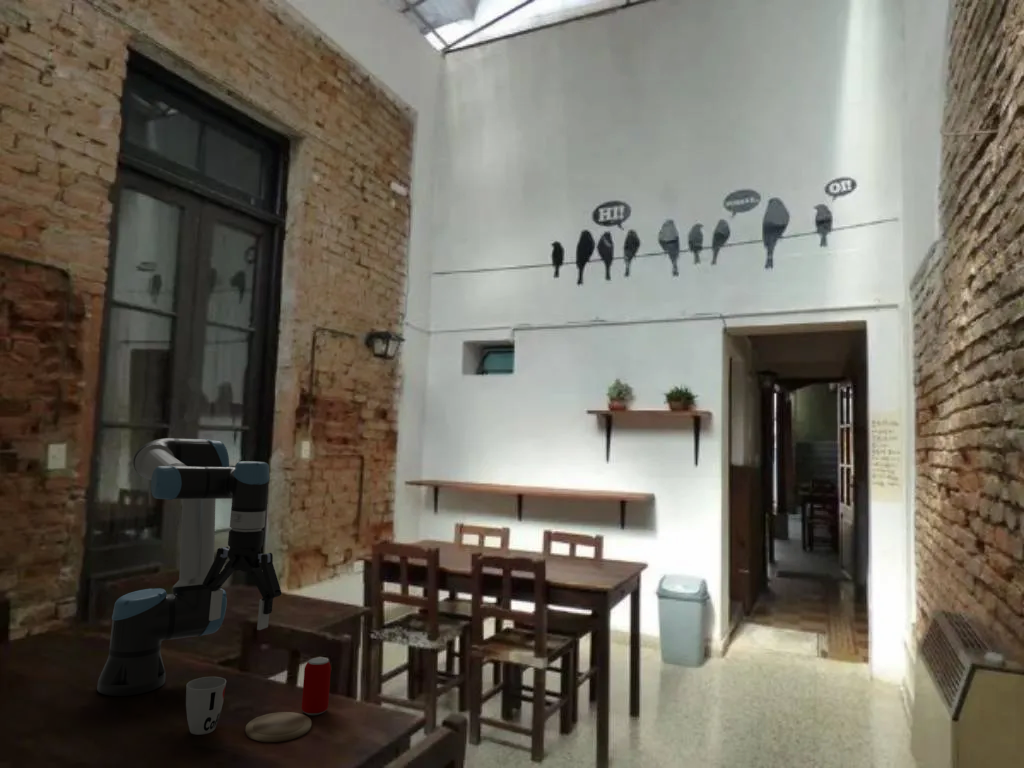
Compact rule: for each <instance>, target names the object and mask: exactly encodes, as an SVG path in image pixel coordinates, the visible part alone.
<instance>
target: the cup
mask: <svg viewBox="0 0 1024 768" xmlns="http://www.w3.org/2000/svg"><path fill="white" fill-rule="evenodd" d="M185 685H186V688H185V690H186V693H185V710H186V718H187V719H186V720H187V721H186V722H187V725H188V729H189V733H190V734H192V735H198V736H199V735H208V734H210V733H212V732H213V731H215V729H216V728H217V725H218V722H219V719H220V716H221V713H222V708H223V704H224V701H225V700H224V699H225V693H226V686H227V680H226V678H223V677H220V676H203V677H199V678H195V679H192V680H190V681H188V682H187V683H186V684H185Z"/></svg>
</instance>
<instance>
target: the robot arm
mask: <svg viewBox="0 0 1024 768" xmlns="http://www.w3.org/2000/svg"><path fill="white" fill-rule="evenodd" d="M229 456H230V455H229V451H228V449H227V447H226V445H225V444H224V443H223V442H222V441H220V440H214V439H208V438H205V439H204V438H202V439H200V438H176V437H175V438H174V437H165V438H159V439H158V438H157V439H154V440H151V441H148V442H147V443H145V444H143V445H142V446H140V448H138V450H137V451H136V452H135V454H134V456H133V462H132V463H133V468H134V471H135V472H136V474H137V475H139V476H140V477H142V478H143V479H145V480H149V481H151V482H150V490H151V495H152V497H153V499H156V500H157V499H158V500H167V501H171V500H182V501H181V502H182V504H181V528H180V529H181V530H180V551H179V552H180V554H179V579H178V581H177V582H176V583H175V584H174V585H172V593H167V591H166V590H165V589H164V588H160V587H156V588H145V589H139V590H135V591H132V592H128V593H126V594H124V595H122V596H120V597H119V598H117V599H116V601H115V603H114V606H113V611H112V615H111V620H112V622H111V630H110V631H111V632H110V639H109V641H110V642H109V648H108V650H109V651H108V657H107V659H106V662H105V664H104V666H103V668H102V671H101V673H100V675H99V677H98V681H97V687H96V688H97V689H96V691H97V692H98V693H99V694H102V695H104V696H112V697H126V696H127V697H128V696H134V695H135V696H136V695H141V694H145V693H149V692H151V691H155V690H156V689H159V688H160V687H162V686H163V685H164V684H165V682H166V668H165V666H164V662H163V658H162V657H163V656H162V654H161V648H162V642H163V641H167V640H168V641H169V640H177V639H183V638H184V639H186V638H192V637H203V636H205V635H206V636H207V635H210V634H211V635H212V634H215V633H216V632H217V631H219V629H220V628H221V626H222V624H223V622H224V619H225V617H226V610H227V605H228V604H227V603H228V598H227V592H226V590H225V589H223V585H224V584H225V582H226V581H228V579H229V578H230V577H231V576H232V575H233V573H234V571H241V572H243V573H247V574H248V575H250V576H251V578H252V579H253V582H254V583H255V586H256V587H257V589H258V591H259V593H260V595H261V599H259V601H258V602H259V603H258V613H257V615H258V616H257V626H256V630H257V631H261V630H264V629H267V628H269V621H270V620H269V619H270V614H271V613H272V611H273V602H274V599H275V598H278V597H280V596H282V589H281V586H280V583H279V580H278V576H277V573H276V570H275V566H274V564H273V561H274V560H273V559H274V556H273V553H272V552H268V553H262V551H261V550H262V549H261V548H262V546H263V545H264V536H265V531H264V530H263V529H264V528H265V526H266V525H265V524H266V514H267V511H266V510H267V501H268V491H269V482H270V478H271V477H270V465H269V464H268V463H267V462H265V461H255V460H254V461H253V460H251V461H249V460H246V461H245V460H242V461H238V462H236V464H235V465H231V466H230V457H229ZM216 499H218V500H219V499H220V500H221V499H222V500H223V499H228V500H229V499H231V509H230V519H229V528H231V529H230V530H229V531H228V538H227V546H222V547H219V548H217V549H216V554H215V538H216V537H215V534H216V531H215V530H216ZM227 560H228V561H227ZM226 561H227V562H226ZM225 563H226V564H225ZM223 567H224V568H223Z"/></svg>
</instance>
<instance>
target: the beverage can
mask: <svg viewBox="0 0 1024 768" xmlns="http://www.w3.org/2000/svg"><path fill="white" fill-rule="evenodd" d="M331 672H332V665H331V663H330V660H329V659H327V658H325V657H314V658H311V659H309V660H308V661H307V663H306V664H305V666H304V671H303V684H302V685H303V686H302V698H301V711H302V712H303V713H304V714H306V716H319V715H321V714H323V713H325V712H326V711H327V710H328V709H329V701H330V688H331V687H330V686H331Z"/></svg>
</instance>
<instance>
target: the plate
mask: <svg viewBox="0 0 1024 768" xmlns="http://www.w3.org/2000/svg"><path fill="white" fill-rule="evenodd" d="M311 728H312V720H311V718H310V717H308V715H307V714H306V715H305V714H303V713H299V712H294V711H291V712H290V711H278V712H272V713H271V712H270V713H266V714H262V715H260V716H257V717H255V718H253V719H251V720H250V721H249V722H248V723H247V724H246V726H245V730H244V731H245V734H246V736H247V737H248V738H249V739H251V740H254V741H256V742H257V741H258V742H261V743H262V742H263V743H279V742H282V743H283V742H287V741H291V740H295V739H297V738H301V737H302V736H304V735H306V734H307V733H309V731H310V730H311Z"/></svg>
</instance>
